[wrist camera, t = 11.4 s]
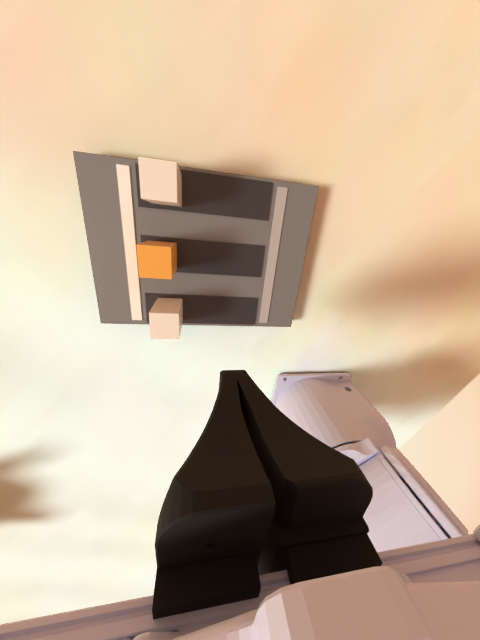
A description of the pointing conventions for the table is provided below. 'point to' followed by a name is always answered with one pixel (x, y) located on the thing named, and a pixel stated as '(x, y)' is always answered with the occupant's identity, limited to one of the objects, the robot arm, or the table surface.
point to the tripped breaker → (157, 259)
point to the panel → (193, 243)
